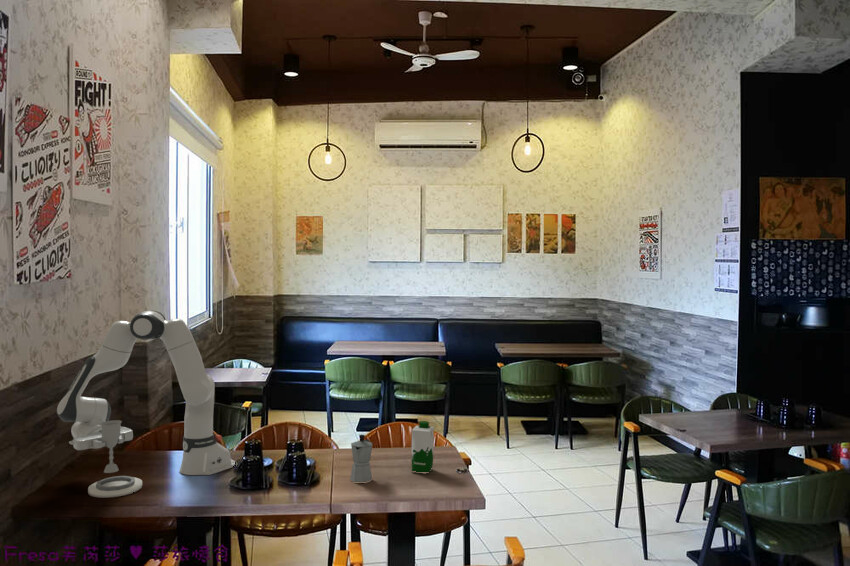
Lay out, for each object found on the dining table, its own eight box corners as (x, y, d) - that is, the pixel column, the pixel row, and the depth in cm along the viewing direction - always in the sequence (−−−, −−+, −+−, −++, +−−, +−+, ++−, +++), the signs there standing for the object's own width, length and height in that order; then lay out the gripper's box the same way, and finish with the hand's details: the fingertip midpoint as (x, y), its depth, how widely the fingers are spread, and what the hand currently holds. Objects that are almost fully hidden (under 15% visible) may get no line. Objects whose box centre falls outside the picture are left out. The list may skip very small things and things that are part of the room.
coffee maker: (367, 486, 235) (367, 439, 235) (345, 484, 237) (346, 438, 237) (377, 474, 250) (378, 430, 250) (357, 472, 252) (357, 428, 251)
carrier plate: (129, 477, 241) (129, 470, 241) (151, 488, 229) (151, 481, 229) (80, 489, 227) (80, 482, 227) (100, 501, 215) (100, 493, 215)
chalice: (117, 466, 233) (116, 419, 232) (125, 470, 228) (125, 422, 228) (97, 471, 227) (96, 423, 227) (105, 475, 223) (104, 425, 222)
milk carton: (434, 468, 258) (435, 421, 258) (429, 475, 249) (430, 426, 249) (414, 467, 260) (415, 420, 260) (409, 473, 251) (409, 425, 251)
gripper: (67, 433, 228) (82, 440, 219) (123, 423, 243) (139, 429, 234) (67, 450, 228) (82, 457, 219) (123, 439, 244) (139, 445, 235)
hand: (112, 442), depth 227 cm, fingers closed on chalice, 5 cm apart
